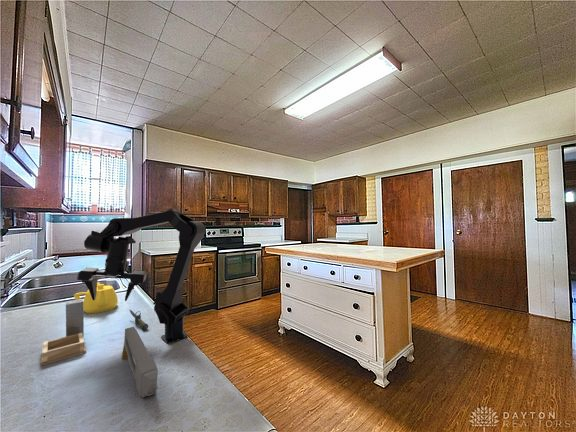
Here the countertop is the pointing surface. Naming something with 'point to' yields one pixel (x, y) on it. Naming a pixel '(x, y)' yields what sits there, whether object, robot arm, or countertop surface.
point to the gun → (140, 363)
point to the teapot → (99, 299)
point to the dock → (62, 348)
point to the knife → (139, 320)
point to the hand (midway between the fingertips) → (110, 300)
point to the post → (74, 317)
